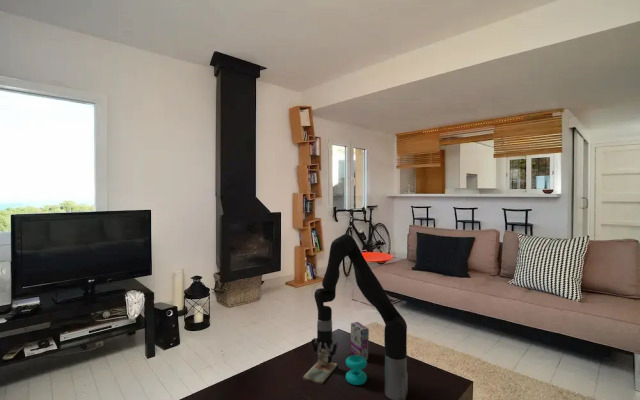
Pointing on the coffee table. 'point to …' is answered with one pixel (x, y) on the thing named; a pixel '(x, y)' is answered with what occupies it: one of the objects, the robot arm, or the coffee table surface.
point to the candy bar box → (359, 340)
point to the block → (323, 358)
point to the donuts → (356, 369)
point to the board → (319, 372)
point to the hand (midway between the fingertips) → (324, 361)
